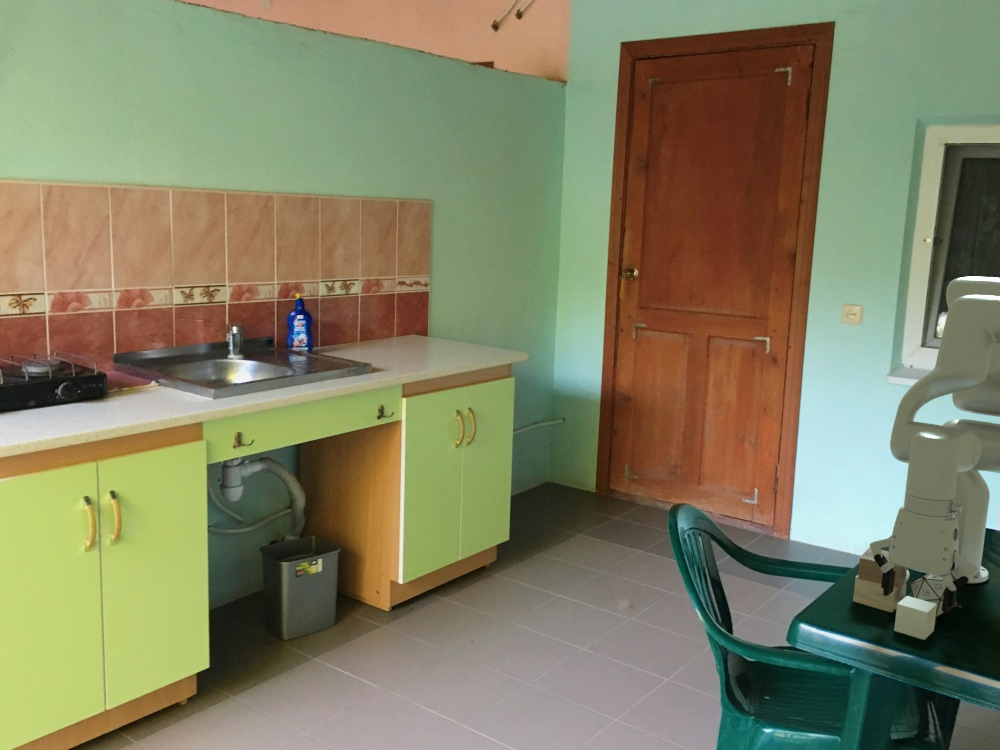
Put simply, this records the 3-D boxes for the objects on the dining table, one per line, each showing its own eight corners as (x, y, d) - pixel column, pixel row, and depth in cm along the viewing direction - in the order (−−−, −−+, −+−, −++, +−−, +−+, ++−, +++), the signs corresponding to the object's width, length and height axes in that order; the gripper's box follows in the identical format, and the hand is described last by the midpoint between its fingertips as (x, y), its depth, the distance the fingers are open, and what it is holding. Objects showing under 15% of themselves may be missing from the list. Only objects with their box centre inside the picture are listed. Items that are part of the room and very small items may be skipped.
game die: (920, 630, 170) (916, 576, 174) (970, 627, 164) (964, 572, 169) (901, 617, 164) (897, 562, 169) (951, 614, 159) (945, 557, 163)
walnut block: (866, 567, 177) (868, 547, 176) (906, 576, 173) (908, 555, 172) (857, 578, 171) (859, 557, 170) (898, 587, 167) (900, 566, 166)
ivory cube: (903, 622, 164) (907, 595, 163) (933, 631, 161) (936, 604, 160) (894, 631, 160) (897, 603, 160) (924, 640, 157) (927, 612, 156)
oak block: (866, 591, 178) (869, 566, 177) (904, 602, 173) (907, 577, 172) (852, 602, 173) (855, 576, 172) (891, 613, 168) (894, 587, 167)
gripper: (990, 512, 154) (977, 611, 156) (884, 490, 165) (873, 582, 168) (977, 521, 148) (964, 623, 151) (868, 498, 160) (858, 593, 162)
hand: (916, 601), depth 159 cm, fingers open, 9 cm apart
